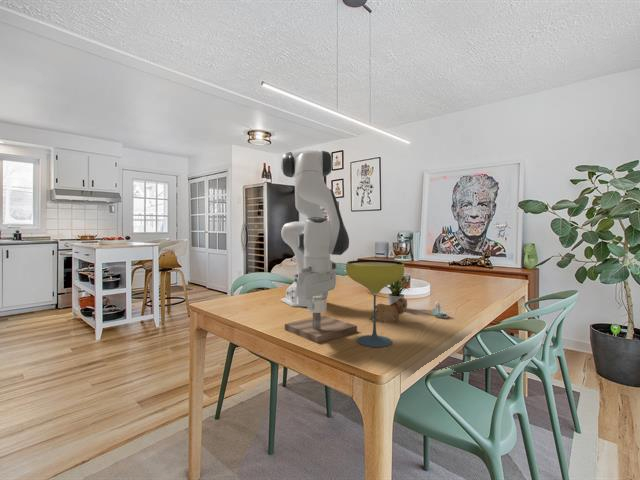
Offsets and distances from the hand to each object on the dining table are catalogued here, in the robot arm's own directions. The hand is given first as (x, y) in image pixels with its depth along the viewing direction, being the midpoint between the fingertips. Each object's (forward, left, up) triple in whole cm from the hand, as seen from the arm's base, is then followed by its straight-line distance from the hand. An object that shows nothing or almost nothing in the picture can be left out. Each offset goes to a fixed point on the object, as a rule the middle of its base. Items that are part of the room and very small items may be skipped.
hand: (317, 307), depth 110 cm
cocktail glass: (+16, +10, -10) cm, 22 cm away
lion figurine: (+5, +32, -10) cm, 34 cm away
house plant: (-4, +49, -10) cm, 50 cm away
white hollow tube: (0, 0, -1) cm, 1 cm away
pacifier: (+14, +54, -10) cm, 56 cm away
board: (-3, +4, -9) cm, 11 cm away
